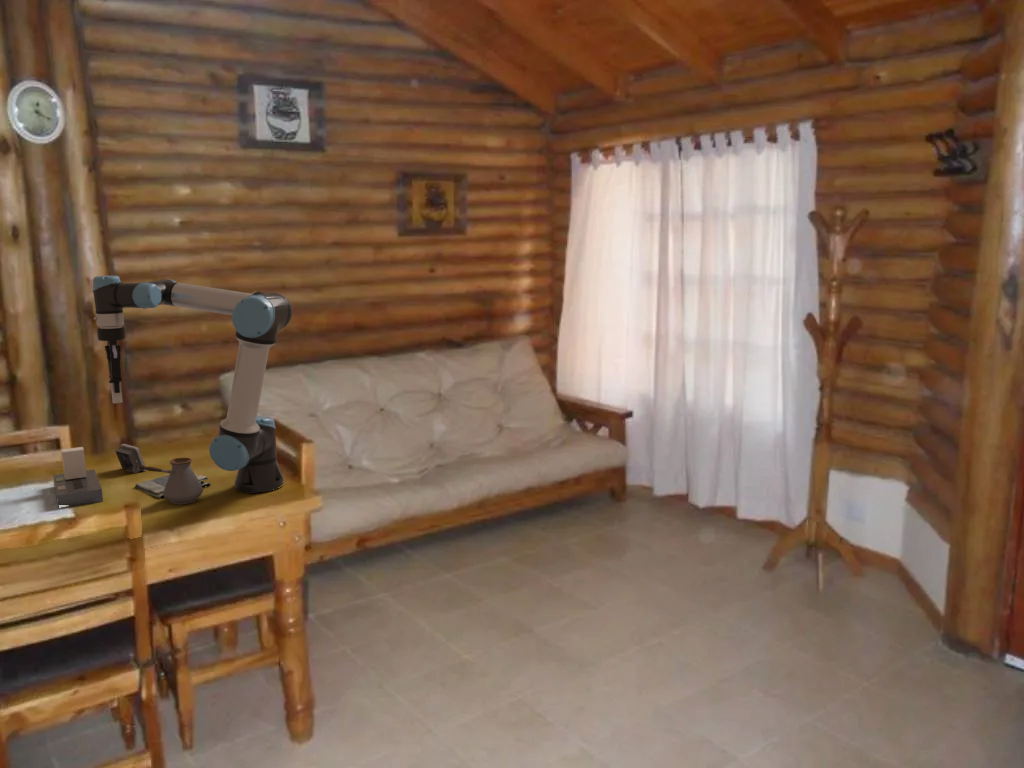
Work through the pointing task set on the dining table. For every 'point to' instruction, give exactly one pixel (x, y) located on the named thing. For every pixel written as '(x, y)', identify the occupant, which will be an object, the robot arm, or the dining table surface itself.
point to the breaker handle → (74, 463)
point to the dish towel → (162, 485)
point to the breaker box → (78, 489)
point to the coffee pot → (179, 482)
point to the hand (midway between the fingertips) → (117, 402)
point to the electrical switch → (130, 458)
